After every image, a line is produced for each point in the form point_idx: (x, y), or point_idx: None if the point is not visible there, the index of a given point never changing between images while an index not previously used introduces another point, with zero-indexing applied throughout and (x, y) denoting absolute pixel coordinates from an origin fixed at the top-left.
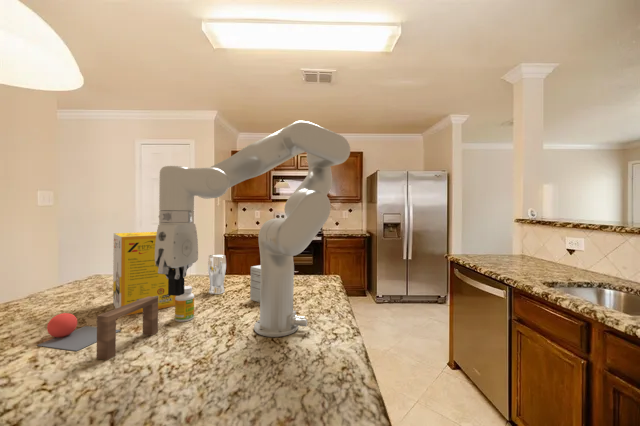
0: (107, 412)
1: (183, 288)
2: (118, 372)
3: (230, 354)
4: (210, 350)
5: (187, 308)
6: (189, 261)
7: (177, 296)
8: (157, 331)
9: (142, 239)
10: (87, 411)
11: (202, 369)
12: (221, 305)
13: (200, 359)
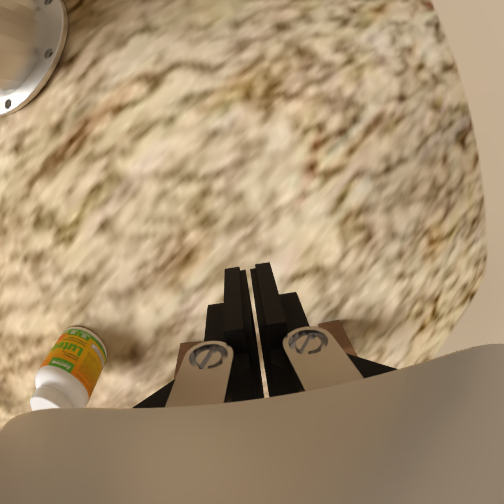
0: (464, 148)
1: (234, 282)
2: (374, 249)
3: (199, 40)
4: (200, 110)
5: (75, 352)
6: (189, 433)
7: (81, 404)
8: (181, 345)
9: None
10: (468, 183)
11: (300, 60)
12: None
13: (258, 99)
